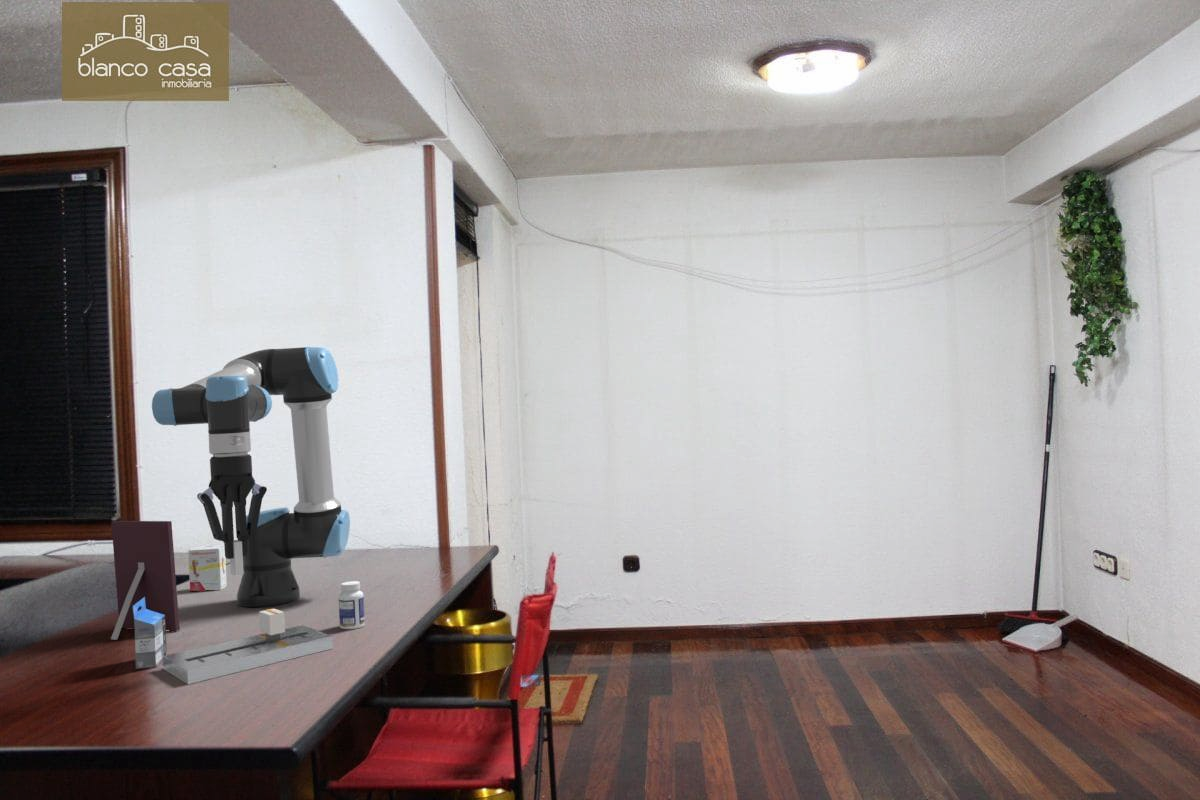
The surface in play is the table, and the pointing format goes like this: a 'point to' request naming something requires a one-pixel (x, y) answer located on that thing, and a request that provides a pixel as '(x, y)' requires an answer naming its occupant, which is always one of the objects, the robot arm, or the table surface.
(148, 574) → the picture frame
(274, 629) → the fader knob
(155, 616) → the label tape cartridge
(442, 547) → the table surface
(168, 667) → the console
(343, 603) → the pill bottle
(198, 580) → the ink box
